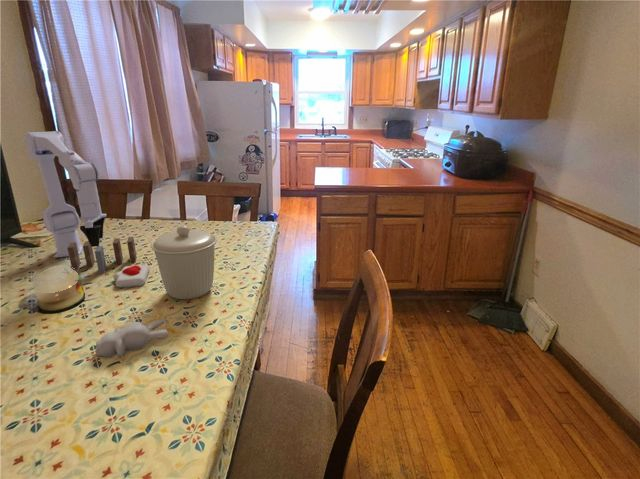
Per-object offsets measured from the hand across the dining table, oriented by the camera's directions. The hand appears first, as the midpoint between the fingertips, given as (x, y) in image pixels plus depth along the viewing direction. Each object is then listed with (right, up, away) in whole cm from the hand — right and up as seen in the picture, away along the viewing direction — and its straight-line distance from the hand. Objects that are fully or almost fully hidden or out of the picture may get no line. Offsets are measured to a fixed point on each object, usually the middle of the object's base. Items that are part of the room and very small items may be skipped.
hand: (97, 242), depth 125 cm
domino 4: (+6, -7, +12) cm, 15 cm away
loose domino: (0, -10, +4) cm, 10 cm away
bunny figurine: (+29, -25, -35) cm, 52 cm away
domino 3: (+2, -7, +11) cm, 13 cm away
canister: (+34, -15, -9) cm, 38 cm away
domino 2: (-7, -8, +8) cm, 13 cm away
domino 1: (-11, -9, +6) cm, 15 cm away
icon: (+12, -13, -2) cm, 18 cm away
